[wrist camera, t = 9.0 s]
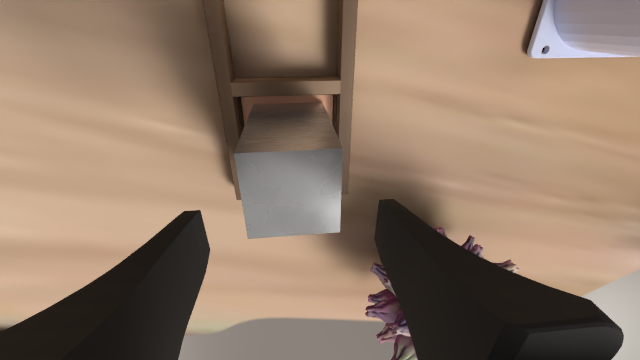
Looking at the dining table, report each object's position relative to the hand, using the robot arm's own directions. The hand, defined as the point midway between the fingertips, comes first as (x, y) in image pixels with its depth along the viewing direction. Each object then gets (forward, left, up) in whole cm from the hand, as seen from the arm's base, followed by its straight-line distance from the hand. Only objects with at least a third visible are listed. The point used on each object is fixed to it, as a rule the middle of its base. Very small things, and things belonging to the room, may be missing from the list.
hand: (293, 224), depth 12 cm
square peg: (0, 0, -10) cm, 10 cm away
